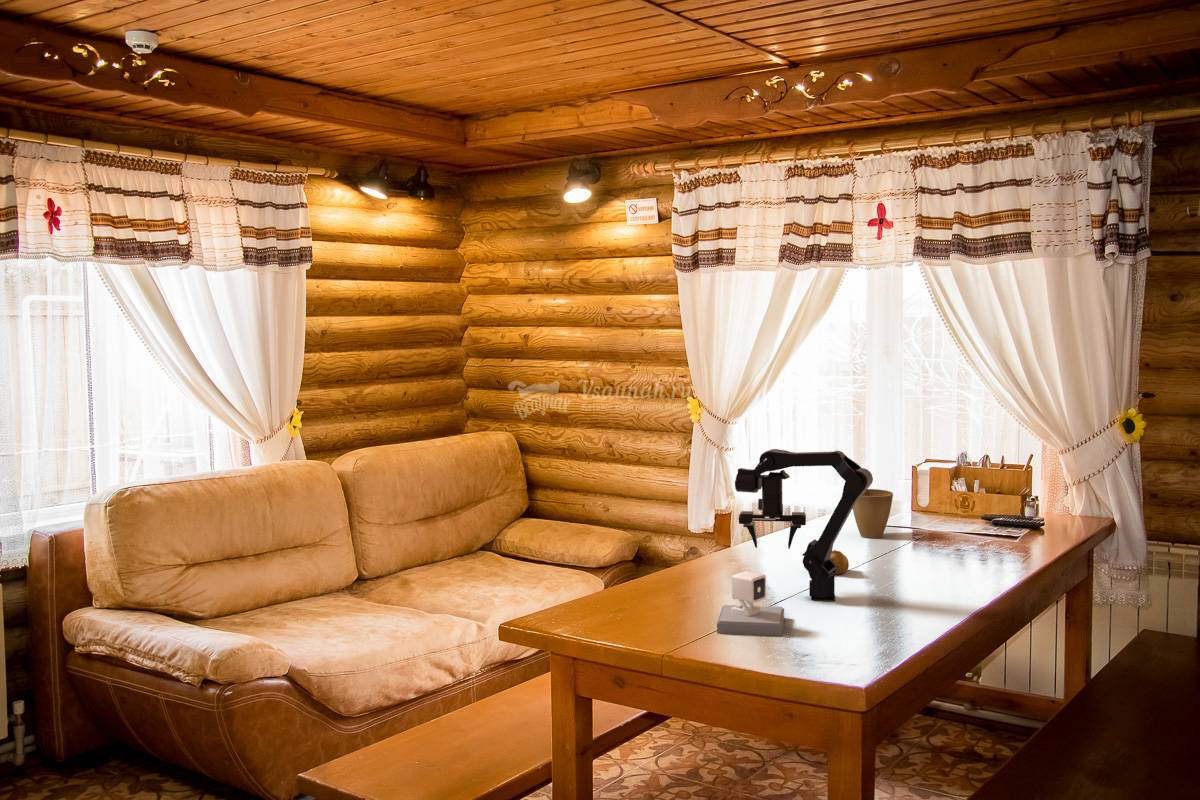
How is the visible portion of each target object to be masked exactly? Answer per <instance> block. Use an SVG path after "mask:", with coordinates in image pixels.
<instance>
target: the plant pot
mask: <svg viewBox="0 0 1200 800" xmlns="http://www.w3.org/2000/svg"><path fill="white" fill-rule="evenodd" d="M893 499H894V492H893V491H890V490H886V489H880V488H879V489H878V488H876V489H875V488H868V489H867V490H866V491H865V493H864V494H863V495H862V496H861V497H860V498H859V499H858V500H857V502H856V503H855V505H854V507H853V509H852V513H853V516H854V520H855V524H856V527H857V530H858V532H859V535H860V537H862V538H864V539H881V538H882V537H883V535H884V532H885V530H886V528H887V525H888V521H889V517H890V514H891V509H892V505H893V504H892V503H893Z"/></svg>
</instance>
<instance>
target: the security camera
mask: <svg viewBox="0 0 1200 800" xmlns="http://www.w3.org/2000/svg"><path fill="white" fill-rule="evenodd" d="M731 588H732V589H731V591H732V593H731V594H732V595H731V596H732V598H731V599H733V600H738V601H739V603H740V604H739V605H738V607H737V606H735V607H732V608H731V613H734V614H739V615H743V616H751V615H754V614H756V613H759V612H760V607H757V606H758V605H754V603H758V602H761V601H762V600H765V599H766V598H767V576H766V574H762V573H757V572H752V571H751V572H750V571H745V570H744V571H742V572H741V571H740V572H738V573H736V574H733V575H732V577H731Z"/></svg>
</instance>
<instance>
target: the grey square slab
mask: <svg viewBox="0 0 1200 800" xmlns="http://www.w3.org/2000/svg"><path fill="white" fill-rule="evenodd" d="M735 606H737V607H738V605H737V604H724V605H722V608H721V611H720V613H719V615H718V619H717V621H716V633H717V634H727V633H729V634H730V635H731V634H732V635H734V634H735V635H752V636H753V635H756V636H778V637H780V636H781V637H782V636H783V630H784V622H785V621H784V620H785V608H784V607H782V606H770V605H769V606H764V605H756V606H757V607H760V612H759V613H756V614H754V615H751V616H743V615H739V614H734V613H731V608H732V607H735Z"/></svg>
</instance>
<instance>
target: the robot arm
mask: <svg viewBox="0 0 1200 800" xmlns="http://www.w3.org/2000/svg"><path fill="white" fill-rule="evenodd" d="M758 460H759V461H758V463H757V465H756V466H755V467H754V469H752V468H742V467H740V468H737V474H736V477H735V480H734V488H735V491H736V492H737V493H752V494H753V493H754V494H758V492H759V490H761V498H758V500H757V501H758V502H757V509H758V511H762V512H761V514H755V513H754V511H753V510H749V511H748V510H747V511H744V510H743V511H741V512H739V514H738V524H739V525H743V526H742V527H743V528H746V529H747V530H748V532H749V534H750V536H751V539H752V542H753V544H754V545H753V546H754V547H755V549H757V548H758V539H757V532H756V522H788V523H789V522H790V528H789V535H788V542H787V548H788V549H789V550H790V549H791V546H792V542H793V539H794V536H795V535H796V532H797V530H798V529H801V528H802V526H806V525H807V514H806V512H804V511H803V512H802V511H801V512H800V511H792V512H791V514H784V504H783V480H787V479H789V478H790V477H791V476H790V475H789V474H788V473H787V472H786V471H785V469H787V468H791V467H829V466H830V467H832V468H833V469H834V470H835V471H836V472H837V474H838V475H839V476H840V478H842V480H844V481H845V482H844V485H843V489H842V493H841V494H842V495H841V498H840V500H839V501H838V502H837V503H838V504H837V505H836V507H835V509H834V511H833V512H832V514H831V516H830V518H829V519H828V522H827V523H826V525H825V527H824V529H823V531H822V533H821V535H820V536H819V539H818V540H817V539H816V538H815V539H813V540H811V541H810V542H808V544H807V547H806V549H805V551H804V552H803V554H802V556H803V558H802V564H803V567H804V568H805V570H806V571H807V572H808V575H809V583H808V584H809V585H808V587H809V597H810V599H811V601H824V602H827V601H828V602H835V601H836V595H835V593H836V591H835V589H836V588H835V587H836V586H835V585H836V584H835V582H836V581H835V575H833V574H835V573H836V570H837V566H836V565H835V564H834V563H833V562H832V561H831V560H830V556H831V553H832V551H833V547H834V543H835V541H836V540H837V537H838V536H839V534H840V532H841V530H843V529H842V528H843V527H844V525H845V523H846V521H847V519H848V517H849V516H850V514H851V512H852V511H853V507H854V505H855V503H856V502H857V500H858V499H859V498H860V497H861V496H862V495H863V494H864V493H865V491H866V490H867V489H870V487H871V485H872V484H873V482H874V477H873V474H872V473H871V471H870V470H869V469H867V468H863V467H861V466H860V464H858V463H857V462H856V461H854V460H852V459H851V458H850V457H848V456H847V454H845V453H844V452H843V451H841V450H834V451H810V452H809V451H805V452H803V451H802V452H800V451H799V452H795V451H794V452H793V451H790V450H784V449H779V448H771V449H770V450H767V451H764V452H762V453H761V454H760V456H759V459H758ZM778 470H779V472H778ZM776 471H777V472H776ZM767 472H769V473H768V474H764V473H767Z"/></svg>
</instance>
